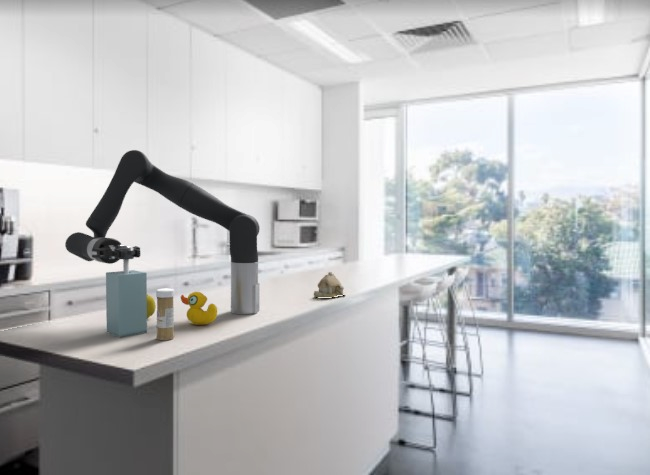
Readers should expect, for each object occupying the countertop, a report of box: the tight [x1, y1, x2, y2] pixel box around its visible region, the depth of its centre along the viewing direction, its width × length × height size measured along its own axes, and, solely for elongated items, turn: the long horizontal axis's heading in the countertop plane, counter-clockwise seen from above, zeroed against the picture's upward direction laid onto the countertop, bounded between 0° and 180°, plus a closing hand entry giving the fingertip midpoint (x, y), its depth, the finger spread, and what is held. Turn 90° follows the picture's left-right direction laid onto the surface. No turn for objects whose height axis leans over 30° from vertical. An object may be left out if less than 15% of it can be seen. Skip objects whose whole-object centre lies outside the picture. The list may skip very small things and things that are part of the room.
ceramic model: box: [313, 271, 345, 298], centre depth 202 cm, size 14×11×10 cm
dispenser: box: [105, 269, 148, 338], centre depth 140 cm, size 8×8×17 cm
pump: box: [118, 247, 135, 273], centre depth 138 cm, size 6×4×14 cm, turn 46°
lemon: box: [147, 293, 157, 320], centre depth 157 cm, size 6×6×8 cm
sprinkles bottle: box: [155, 287, 175, 341], centre depth 134 cm, size 5×5×14 cm
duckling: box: [180, 291, 218, 326], centre depth 151 cm, size 11×5×10 cm, turn 82°
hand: (130, 254), depth 137 cm, fingers closed on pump, 4 cm apart
